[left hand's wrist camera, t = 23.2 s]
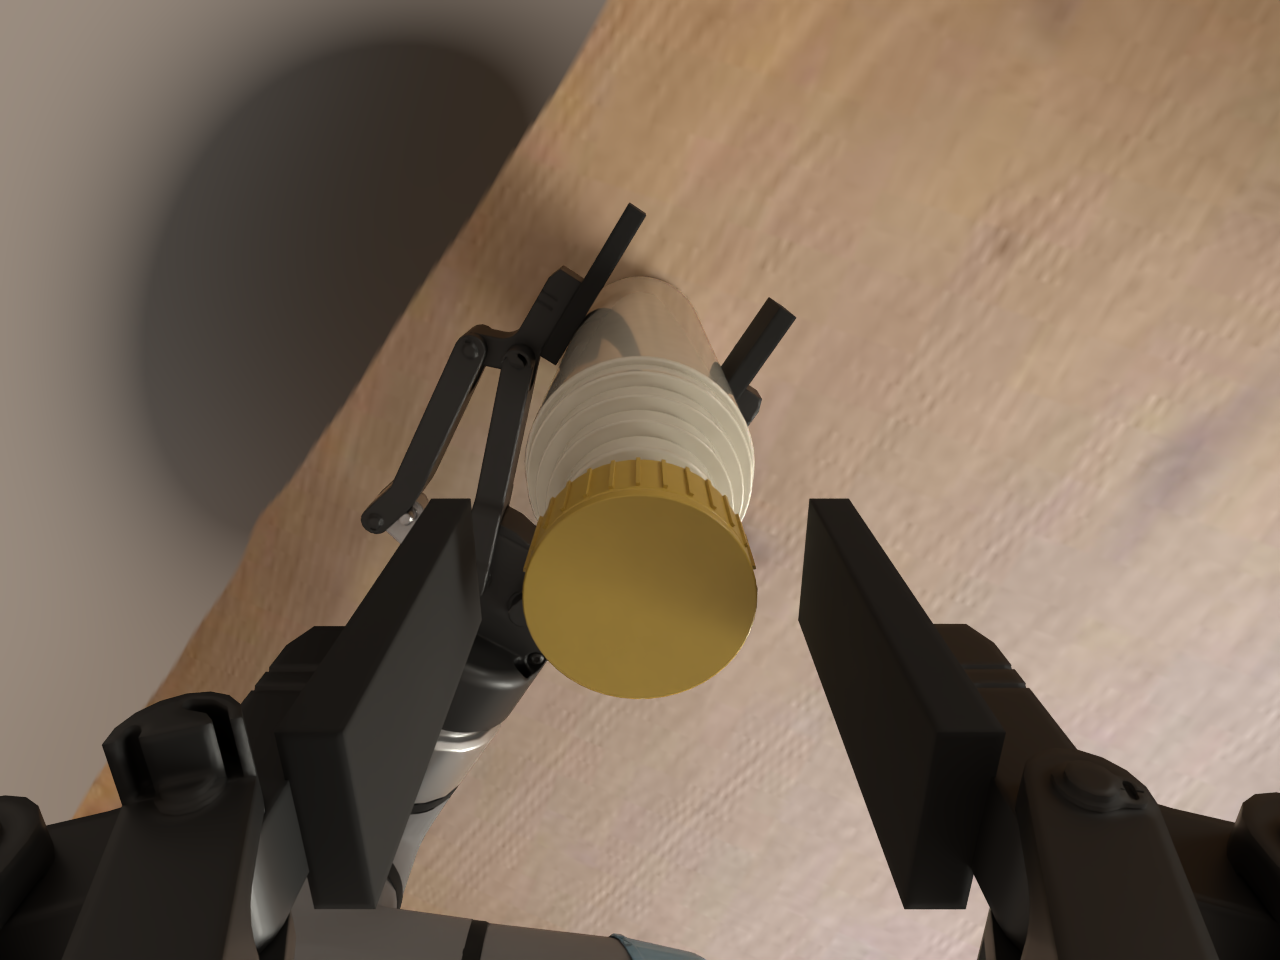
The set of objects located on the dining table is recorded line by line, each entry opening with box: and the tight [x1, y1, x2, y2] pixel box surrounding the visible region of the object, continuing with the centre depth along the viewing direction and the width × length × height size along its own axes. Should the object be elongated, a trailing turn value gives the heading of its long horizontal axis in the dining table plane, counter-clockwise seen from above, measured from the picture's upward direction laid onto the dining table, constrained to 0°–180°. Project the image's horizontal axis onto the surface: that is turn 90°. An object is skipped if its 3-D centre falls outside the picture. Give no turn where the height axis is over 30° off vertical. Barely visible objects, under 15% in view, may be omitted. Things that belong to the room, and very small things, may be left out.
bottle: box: [525, 276, 755, 522], centre depth 25 cm, size 6×6×24 cm
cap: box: [522, 457, 757, 699], centre depth 14 cm, size 4×4×2 cm
